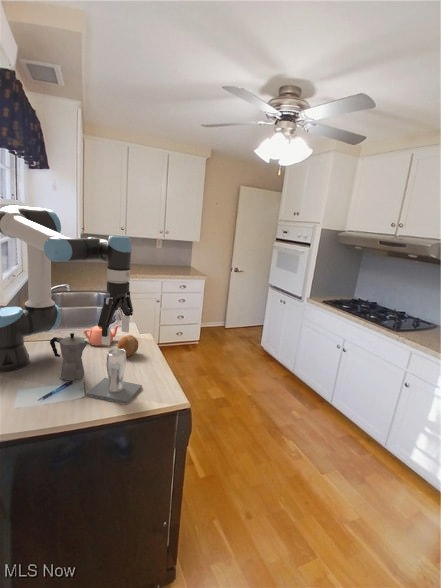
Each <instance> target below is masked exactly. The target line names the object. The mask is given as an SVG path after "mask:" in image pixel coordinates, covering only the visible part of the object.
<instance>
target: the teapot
mask: <svg viewBox="0 0 441 588" xmlns="http://www.w3.org/2000/svg"><path fill="white" fill-rule="evenodd" d="M120 326H121V324H119V323H118V324H117V325H115V326H114V329H113V331H110V344H111V343H112V342H113V340H114V338H115V337H116V335H117V332H118V328H119V327H120ZM88 332H89V334H88ZM83 334H84V336H85V337H86V338H87V342H89V345H91V344H92V346H94V345H95V347H103V346H102V345H103V344H102V327H98V325H95V326H93V327H92V329H89V328H85V329H83Z"/></svg>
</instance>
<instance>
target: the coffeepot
mask: <svg viewBox="0 0 441 588" xmlns="http://www.w3.org/2000/svg"><path fill="white" fill-rule="evenodd" d="M69 335H70V336H65V337H55V336H54V337H52V339H50V341H49V345H50V347H51V349H52V352H53V354H54V357H56V358H60V357H61V358H62V364H61V370H60V375H59V376H60V377H59V378H60V379H62V380H65V381H75V380H79V379H81V378H82V377H83V376H84V375H85V370H84V364H83V358H82V356H83V351H84V350H85V348H86V347H87V346H88V345H90V343H89V341H88V340H86V339H85V338H84V337H81V336H79V335H78V336H77V335H76V336H75V333H74V332H72V333H69ZM56 343H59V348H60V352H61V354H59V353H58V349H57V348H56V347H57V346H56Z"/></svg>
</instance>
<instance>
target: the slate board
mask: <svg viewBox="0 0 441 588" xmlns="http://www.w3.org/2000/svg"><path fill="white" fill-rule="evenodd" d="M123 384H124V389H123V390H122V391H121V392H117V393H111V392H109V391H108V390H107V386H108V377H104V378H103V379H101V380H100V381H99V382H98V383H97V384H95V385H94V386H93V387H91V388H90V389H89V390H88V391H87V392H86V397H91V398H95V399H100V400H104V401H109V402H114V403H118V404H122V405H128V404H129V403H130V402H131V401H132V400H133V398H134V397H135V396H136V395H137V394H138V393H139V392H140V391H141V389H142V388H143V385H142V384H140V383H139V384H138V383H135V382H129V381H124V380H123Z"/></svg>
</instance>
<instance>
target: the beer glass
mask: <svg viewBox="0 0 441 588" xmlns="http://www.w3.org/2000/svg"><path fill="white" fill-rule="evenodd" d="M106 354H107V355H106V363H105V364H106V366H105V367H106V372H107V378H108V386H107V390H108V391H109V392H111V393H117V392H121V391H122V390H123V389H124V384H123V381H124V378H125V371H126V368H127V356H126V351H125V350H124V349H120V348H118V347H117V348H116V347H115V348H111V349H108V351H107V353H106Z"/></svg>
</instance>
